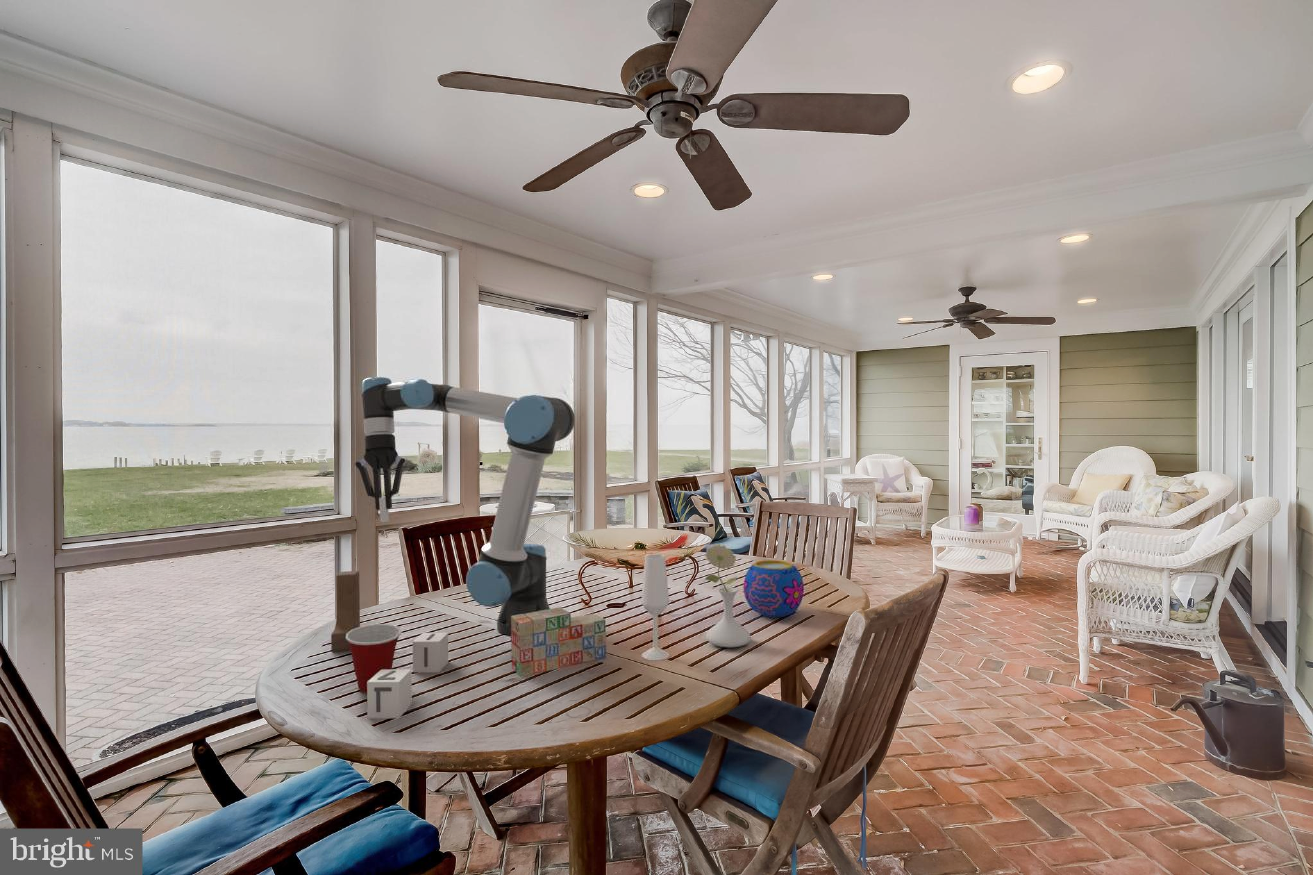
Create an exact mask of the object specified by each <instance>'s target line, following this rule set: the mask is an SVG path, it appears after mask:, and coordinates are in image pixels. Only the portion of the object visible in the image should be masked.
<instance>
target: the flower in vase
mask: <svg viewBox="0 0 1313 875" xmlns="http://www.w3.org/2000/svg"><path fill="white" fill-rule="evenodd" d="M734 553H735V552H734V551H733V550H731V548H727V546H726V545H725V544H724V545H720V544H718V543H717V544H713V545H711V546H708V547H707V548H706V551H705V554H704V556H705V557H706V560H707V561H709V562H708V563H709V564H710V565H712V566H714V567H717V575H715V574H712V573H711V574H708V575H707V576H706V577H705V578H704V580H706V581H708V582H709V581H710V582H711V583H712V582H713V583H718V582H719V581H720V582H721V585H722V586H723V587H720V588H718V589H717V591H718V592H719V593H720V595H721V598H722V603H723V616H722V619H720V621H719V622H718V623H716V624H714V626H712V627H711V628H710V629H709V630H708V631H707V632H706V635H705V638H706V640H707V641H708V643H710V644H712V645H714V646H718V647H722V648H739V647H742V646H743V647H744V645H747V644H749V643H750V641H751V639H752V636H751V633H750V632H749V631H748V629H746V628H745V627H744V626H743V625H741V624H740V623H739V622H737V620H736V619H735V618H734V614H733V607H734V600H735V596H736V594H737V593H738V592H739V589H738V588H736V587H731V586H730V587H729V586H726V585H730V584H732V583H735V581H736V580H737V579H738V577H739V576H738V575H737V576H736V577H732V578H730V579H728V580H727V581H726V582H723V580H722V578H721V577H720V576H721V575H720V569H723V570H725V569H730V568H731V567H734V566H735V565H734V564H735V563H736V561H737V559H736V555H735V554H734Z"/></svg>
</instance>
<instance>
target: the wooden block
mask: <svg viewBox="0 0 1313 875" xmlns="http://www.w3.org/2000/svg"><path fill="white" fill-rule="evenodd" d="M335 581H336V582H335V583H336V584H335V585H336V586H335V587H336V593H335V594H336V596H335V597H336V619H335V621H336V622H335V625H334V629H333V631H332V633H331V636H330V640H331V641H330V642H331V643H330V645H331V648H330V650H331V652H342V651H343V652H345V651H350V646H349V643H348V641H347V640H346V634H347V633H348V632H349V631H351V630H353V629H355V628H358V627H361V616H360V615H361V609H360V608H361V607H360V604H361V603H360V601H361V600H360V599H361V598H360V571H359V570H349V571H347V570H346V571H340V572H339V573H338V574H336V577H335Z"/></svg>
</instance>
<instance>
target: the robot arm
mask: <svg viewBox="0 0 1313 875" xmlns="http://www.w3.org/2000/svg"><path fill="white" fill-rule="evenodd" d="M361 400H362V408H363V409H362V410H363V429H364V430H363V433H364V434H365V435H366V436H365V437H364V450H365V453H364V454H363V458H362V459H360V460H359V461H356V462H355V463H354V465H355V467H356V468H357V469H358V470H359V473H360V476H361V479H362V482H363V485H364V489H365V492H366V494H367V496H368V497H372V498H374V499H375V509H376V510H375V511H379V520H380V523H387V522H390V516H389V512H390V511H389V509H390V510H391V509H392V508H393V500H392V498H393V496H395V495H397V494H399V492H400V487H401V481H402V478H403V470H404V467H405V466H406V464H407V461H408V460H407V459H406V458H404V457H401V456H399V453H398V451H397V448H396V436H395V435H394V434H395V419H394V418H395V414H394V413H395V412H399V411H404V410H405V411H406V410H421V411H437V412H444V413H449V414H454V415H459V416H460V415H461V416H463V417H464V416H465V417H470V418H474V419H475V418H476V419H479V420H485V421H491V422H494V423H495V422H496V423H500V424H503V427H504V429H505V430H506V434H507V436H508V437H507V441H506V446H507V447H508V448H509V450H510V455H509V458H508V459H509V460H508V463H507V467H506V472H505V476H504V481H503V484H502V488H501V493H500V497H499V501H498V504H497V505H498V506H497V510H496V512H495V518H494V521H493V525H492V530H491V533H490V534H491V535H490V539H489V541H488V542H487V543H485V544H483V545H482V547H481V549H480V554H479V558H478V561H477V562H475V563H474V564H473V565H472V566H471V567H470V568H469V569H468V571H467V573H466V577H465V578H466V579H465V583H466V589H467V591H468V593H469V594H470V596H471V598H472V599H473V600H474V601H475V602H476V603H477V604H479V605H480V606H483V607H488V608H492V607H493V608H495V607H497V606H500V605H501V608H500V611H499V614H498V617H497V621H496V630H497V632H499V633H501V634H504V635H506V636H511V616H514V615H519V614H526V613H531V612H537V611H541V610H547V609H551V608H550V605H549V602H548V598H547V555H546V554H547V552H546V547H545V546H544V545H542V544H535V543H525V542H526V538H527V534H528V529H529V526H530V521H531V518H532V513H533V511H534V510H533V508H534V505H535V501H536V498H537V493H538V489H539V486H540V485H539V484H540V481H541V477H542V474H543V473H542V472H543V469H544V465H545V461H546V459H548V458H549V457H551V456H552V455H553V453H554V450H555V446H556V442H560V441H562V440H564V439H565V438H567V437H569V435H570V434H571V433H572V431H573V429H574V426H575V424H576V419H575V418H576V417H575V412H574V410H573V408H572V406H571V405H570V404H569V403H568V402H567V401H565V400H563V399H561V398H557V397H550V396H542V395H538V394H532V395H531V394H530V395H523V396H520V397H513V396H506V395H502V394H495V393H491V392H484V391H479V390H474V389H467V388H462V387H457V386H456V387H455V386H451V385H449V384H437V383H436V384H435V383H429V382H428V381H427V380H426V379H424V378H423V379H422V378H421V379H415V378H414V379H410V380H404V381H399V382H393V383H392V379H391V378H388V377H383V376H382V377H381V376H377V377H376V376H375V377H367V378H365V379H364V380H363V381H362V384H361ZM395 461H396V468H395V472H394V473H395V474H394V477H393V484H392V476H391V474H392V472H391V471H392V467H393V465H394V463H395ZM368 465H369V466H370V467H371V468H372V474H373V484H372V480H371V478H370V475H369V472H368V469H367V466H368ZM382 472H383V488H384V495H383V493H382V490H383V489H382V477H381V476H382V475H381V473H382ZM383 496H384V497H383Z"/></svg>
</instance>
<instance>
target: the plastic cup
mask: <svg viewBox="0 0 1313 875" xmlns="http://www.w3.org/2000/svg"><path fill="white" fill-rule="evenodd" d="M401 634H402V628H400V627H399V626H397V625H393V624H389V623H387V624H386V623H376V624H375V623H374V624H367V625H363V626H360V627H358V628H355V629H353V630H351V631H349V632H348V633H347V634H346V640H347V641H348V643H349V646H350V650H349V651H350V654H351V659H352V665H353V670H354V675H355V677H356V678H355V679H356V681H357V682H356V683H357V688H358V690H359V691H360V692H361V693H367V682H368V681H369V680H370V679H371V678H372V677H373V676H375V675H376V674H377V673H378V672H379V671H380V670H390V669H393V665H394V664H393V663H394V658H395V653H396V652H395V651H396V646H397V643H398V641H399V638H400V636H401Z"/></svg>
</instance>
